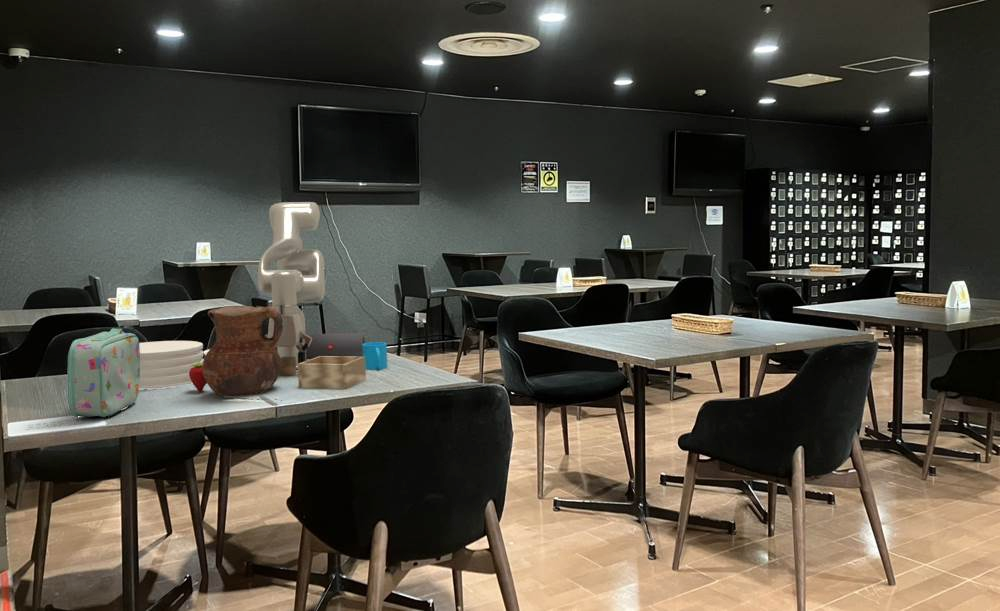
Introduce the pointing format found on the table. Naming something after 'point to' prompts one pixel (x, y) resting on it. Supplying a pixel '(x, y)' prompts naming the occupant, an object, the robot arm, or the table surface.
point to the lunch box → (103, 373)
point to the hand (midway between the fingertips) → (287, 363)
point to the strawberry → (197, 376)
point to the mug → (375, 355)
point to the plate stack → (168, 362)
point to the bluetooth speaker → (335, 345)
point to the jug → (243, 351)
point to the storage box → (331, 372)
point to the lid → (288, 366)
